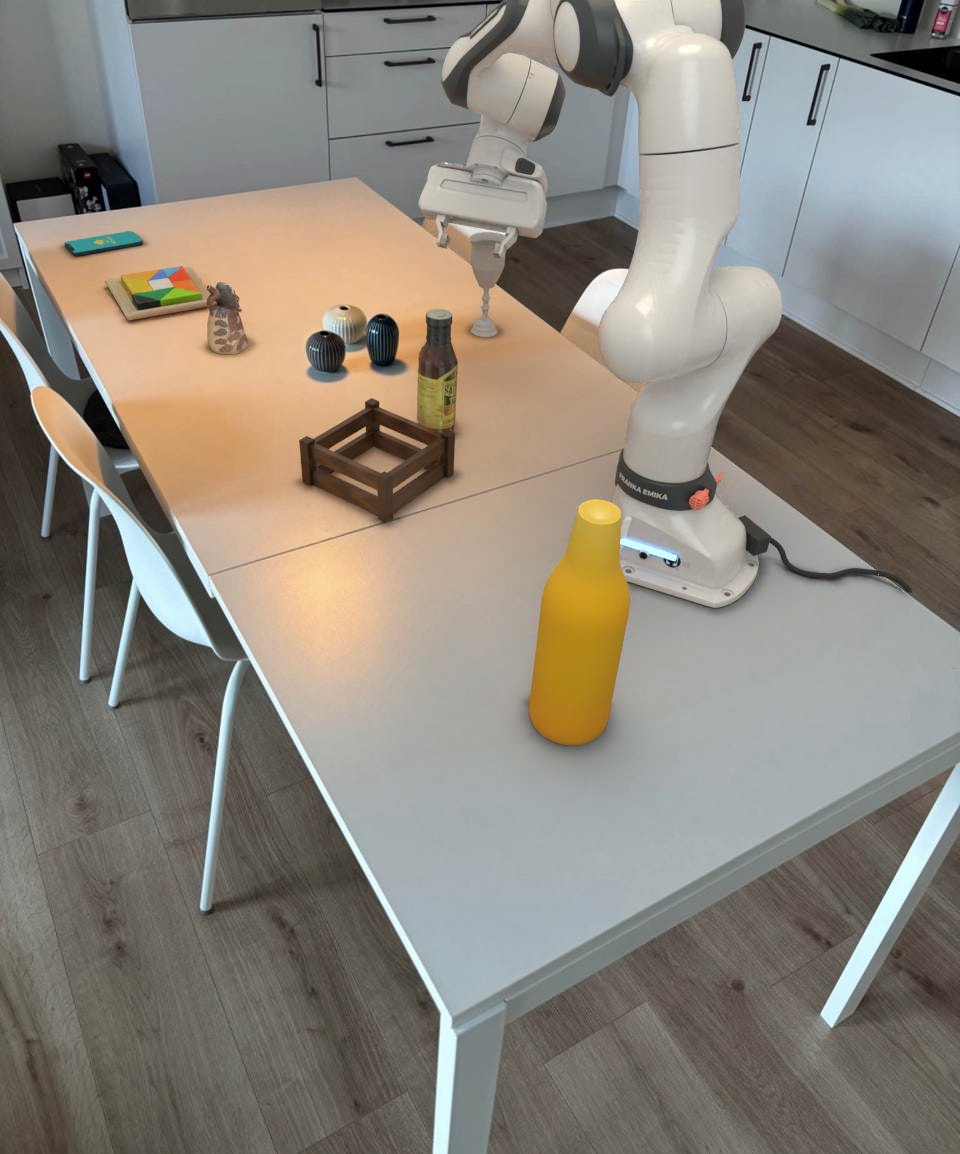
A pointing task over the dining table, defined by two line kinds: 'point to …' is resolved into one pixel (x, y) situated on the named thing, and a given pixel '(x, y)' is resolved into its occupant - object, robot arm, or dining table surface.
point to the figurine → (225, 321)
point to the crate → (386, 503)
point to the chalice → (485, 275)
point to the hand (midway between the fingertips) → (469, 251)
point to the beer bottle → (581, 630)
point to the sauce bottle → (437, 374)
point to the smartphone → (103, 243)
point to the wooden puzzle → (159, 292)
